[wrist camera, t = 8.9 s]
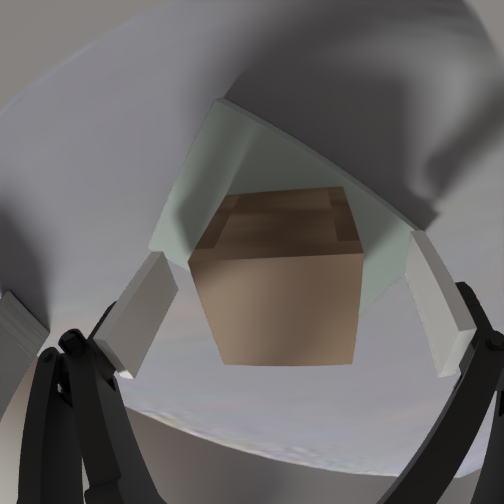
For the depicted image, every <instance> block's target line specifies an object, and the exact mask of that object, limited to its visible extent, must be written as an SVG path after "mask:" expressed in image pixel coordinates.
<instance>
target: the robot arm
mask: <svg viewBox="0 0 504 504" xmlns="http://www.w3.org/2000/svg"><path fill="white" fill-rule="evenodd" d="M405 277H406V280H407V282H408V285H409V288H410V290H411V293H412V296H413V298H414V301H415V304H416V307H417V309H418V312H419V315H420V318H421V321H422V324H423V327H424V330H425V333H426V337H427V340H428V343H429V346H430V350H431V353H432V357H433V360H434V364H435V367H436V371H437V375H438V378H439V377H444V376H449V375H454V374H455V372H456V370H457V368H458V367H460V371H461V375H460V377H459V379H458V381H457V382H456V384H455V386H454V387H453V388H454V389H453V391H452V393H451V395H450V397H449V399H448V401H447V403H446V405H445V406H444V408H443V410H442V412H441V414H440V415H439V417H438V419H437V421H436V422H435V424H434V426H433V427H432V429H431V431H430V432H429V434H428V435H427V437H426V438H425V440H424V442H423V443H422V445H421V446H420V448H419V449H418V451H417V452H416V454H415V455H414V456H413V458H412V459H411V461H410V462H409V463H408V465H407V466H406V468H405V469H404V470H403V472H402V473H401V474H400V475H399V477H398V478H397V479H396V481H395V482H394V483H393V484H392V486H391V487H390V488H389V489H388V491H387V492H386V493H385V494H384V495H383V496H382V498H381V499H380V500H379V501H378V502H377V503H376V504H436V503H437V502H438V500H439V499H440V497H441V496H442V494H443V493H444V491H445V490H446V488H447V487H448V485H449V484H450V482H451V480H452V479H453V477H454V476H455V474H456V472H457V470H458V469H459V467H460V465H461V463H462V462H463V460H464V458H465V456H466V454H467V453H468V451H469V449H470V447H471V445H472V443H473V441H474V439H475V437H476V435H477V433H478V430H479V428H480V426H481V424H482V422H483V419H484V417H485V415H486V412H487V410H488V407H489V405H490V403H491V400H492V397H493V395H494V392H495V391H497V397H496V405H495V411H494V417H493V423H492V428H491V433H490V438H489V443H488V447H487V451H486V455H485V459H484V463H483V466H482V470H481V474H480V477H479V480H478V483H477V486H476V489H475V492H474V495H473V498H472V501H471V503H470V504H504V335H503V334H502V333H500V332H498V331H495V330H493V328H492V326H491V324H490V322H489V320H488V318H487V316H486V314H485V312H484V310H483V308H482V306H480V303H479V301H478V299H477V297H476V295H475V293H474V292H473V290H472V288H471V287H469V286H468V285H467V284H466V283H465V282H457V283H454V281H453V279H452V277H451V275H450V274H449V272H448V270H447V268H446V266H445V265H444V263H443V261H442V260H441V258H440V256H439V254H438V253H437V251H436V249H435V248H434V246H433V245H432V243H431V241H430V240H429V238H428V237H427V235H426V233H425V232H424V230H419V231H410V236H409V246H408V255H407V264H406V271H405ZM177 291H178V287H177V285H176V282H175V280H174V277H173V275H172V272H171V270H170V267H169V265H168V262H167V260H166V257H165V255H164V252H163V251H158V252H151V254H150V255H149V256H148V258H147V259H146V261H145V262H144V263H143V265H142V266H141V267H140V269H139V270H138V272H137V273H136V274H135V276H134V277H133V279H132V280H131V282H130V283H129V284H128V286H127V287H126V289H125V290H124V292H123V293H122V295H121V296H120V297H119V299H118V300H117V301H115V302H114V303H113V304H111V305H110V306H109V307H108V308H107V310H106V311H105V313H104V314H103V316H102V317H101V319H100V320H99V322H98V323H97V325H96V326H95V328H94V329H93V331H92V332H91V334H90V335H89V337H88V339H87V340H86V339H85V337H84V336H83V334H82V333H81V331H80V330H78V329H71V330H68V331H67V332H65V333H64V334H63V335H62V336H61V338H60V339H59V342H58V345H59V346H60V347H61V349H62V350H63V351H64V352H65V353H61V354H60V353H59V351H58V350H57V349H56V348H55V347H49V348H47V349H45V350H44V351H43V352H42V353H41V354H40V356H39V359H38V362H37V366H36V370H35V374H34V378H33V382H32V387H31V392H30V396H29V401H28V406H27V412H26V418H25V424H24V430H23V438H22V445H21V455H20V466H19V484H18V500H17V504H84V500H83V484H82V458H83V462H84V466H85V470H86V474H87V477H88V481H89V485H90V487H89V489H87V490H86V491H85V493H84V497H85V502H86V504H167V503H166V502H165V501H164V500H163V499H162V498H161V497H160V495H159V494H158V492H157V489H156V488H155V485H154V483H153V481H152V479H151V476H150V474H149V472H148V469H147V467H146V465H145V462H144V460H143V457H142V455H141V452H140V450H139V447H138V444H137V442H136V439H135V436H134V434H133V431H132V428H131V425H130V422H129V419H128V416H127V413H126V410H125V407H124V404H123V400H122V397H121V394H120V390H119V387H118V383H117V380H116V378H115V376H114V375H113V374H114V372H115V371H116V370H117V372H118V373H119V374H120V375H121V377H124V378H130V379H135V377H136V375H137V373H138V370H139V368H140V366H141V364H142V362H143V360H144V358H145V356H146V354H147V351H148V349H149V347H150V345H151V343H152V341H153V339H154V337H155V335H156V333H157V331H158V329H159V327H160V325H161V323H162V321H163V319H164V317H165V315H166V313H167V311H168V309H169V307H170V305H171V303H172V301H173V299H174V297H175V295H176V293H177ZM58 386H59V387H60V388H61V392H58Z"/></svg>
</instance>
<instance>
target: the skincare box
mask: <svg viewBox="0 0 504 504" xmlns="http://www.w3.org/2000/svg"><path fill="white" fill-rule="evenodd" d="M49 334H50V332H49V331H48V330H47V329H46V328H45V327H44V326H43V325H42V324H41V323H40V322H39V321H38V320H37V319H36V318H35V317H34V316H33V315H32V314H31V313H30V312H29V311H28V310H27V309H26V308H25V307H24V306H23V305H22V304H21V303H20V302H19V301H18V300H17V298H16V297H15V296H14V295H13V294H12V293H11V292H10V291H9V290H8V291H7V292H6V293H5V294H4V295H3V297H2V298H1V299H0V421H1V419H2V417H3V415H4V412H5V411H6V409H7V406H8V405H9V403H10V401H11V399H12V397H13V395H14V393H15V391H16V389H17V388H18V386H19V384H20V382H21V380H22V378H23V377H24V375H25V373H26V372H27V370H28V368H29V366H30V365H31V363H32V361H33V360H34V358H35V357H36V355H37V353H38V352H39V350H40V348H41V347H42V345H43V344H44V342H45V340H46V339H47V337H48V336H49Z"/></svg>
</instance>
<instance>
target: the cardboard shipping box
mask: <svg viewBox="0 0 504 504" xmlns="http://www.w3.org/2000/svg"><path fill="white" fill-rule="evenodd" d="M363 261H364V252H363V248H362V245H361V241H360V238H359V235H358V231H357V228H356V225H355V222H354V219H353V215H352V212H351V209H350V206H349V203H348V200H347V197H346V194H345V191H344V189H343V187H325V188H308V189H293V190H280V191H267V192H256V193H245V194H234V195H226V196H225V197H224V199H223V201H222V202H221V204H220V206H219V207H218V209H217V211H216V212H215V214H214V216H213V217H212V219H211V221H210V223H209V224H208V226H207V228H206V229H205V231H204V233H203V235H202V236H201V238H200V240H199V242H198V243H197V245H196V247H195V249H194V251H193V252H192V254H191V256H190V258H189V259H188V261H187V262H188V265H189V268H190V271H191V274H192V277H193V280H194V283H195V286H196V289H197V292H198V295H199V298H200V301H201V304H202V307H203V309H204V312H205V315H206V318H207V321H208V323H209V326H210V329H211V332H212V334H213V337H214V340H215V342H216V345H217V348H218V350H219V353H220V355H221V358H222V361H223V363H224V364H229V365H252V366H322V365H344V364H352V361H353V354H354V348H355V341H356V333H357V325H358V317H359V308H360V298H361V287H362V275H363Z"/></svg>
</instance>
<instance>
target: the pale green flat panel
mask: <svg viewBox="0 0 504 504" xmlns="http://www.w3.org/2000/svg"><path fill="white" fill-rule="evenodd" d="M325 187H343V189H344V191H345V194H346V197H347V200H348V203H349V206H350V209H351V212H352V215H353V219H354V222H355V225H356V228H357V231H358V235H359V238H360V241H361V245H362V248H363V252H364V261H363V275H362V287H361V298H360V308H359V316H360V315H361V314H362V313H363V312H364V311H365V310H366V309H368V308H369V307H370V306H371V305H372V304H373V303H374V302H375V301H376V300H377V299H378V298H380V297H381V296H382V295H383V294H384V293H385V292H386V291H387V290H388V289H389V288H390V287H391V286H392V285H393V284H394V283H395V282H396V281H397V280H398V279H399V278H400V277H401V276H402V275H403V274H404V273H405V271H406V264H407V255H408V246H409V236H410V231H419V230H421V229H420V228H419V227H418V226H416V225H415V224H414V223H413V222H412V221H410V220H409V219H408V218H407V217H405V216H404V215H403V214H402V213H401V212H399V211H398V210H397V209H396V208H394V207H393V206H392V205H390V204H389V203H388V202H387V201H385V200H384V199H383V198H381V197H380V196H379V195H377V194H376V193H375V192H373V191H372V190H371V189H369V188H368V187H367V186H365V185H364V184H363V183H361V182H360V181H359V180H357V179H356V178H354V177H353V176H352V175H350V174H349V173H347V172H346V171H344V170H343V169H342V168H340V167H339V166H337V165H336V164H334V163H333V162H331V161H330V160H328V159H327V158H325V157H324V156H322V155H321V154H319V153H318V152H316V151H315V150H313V149H311V148H310V147H308V146H307V145H305V144H304V143H302V142H300V141H299V140H297V139H296V138H294V137H292V136H291V135H289V134H287V133H286V132H284V131H282V130H281V129H279V128H277V127H276V126H274V125H272V124H270V123H269V122H267V121H265V120H263V119H262V118H260V117H258V116H256V115H254V114H253V113H251V112H249V111H247V110H245V109H243V108H242V107H240V106H238V105H236V104H234V103H232V102H230V101H228V100H226V99H224V98H220V99H216V100H215V101H214V103H213V105H212V106H211V108H210V110H209V112H208V114H207V116H206V118H205V120H204V122H203V124H202V126H201V128H200V130H199V132H198V134H197V136H196V138H195V140H194V142H193V144H192V146H191V148H190V150H189V152H188V154H187V156H186V158H185V161H184V163H183V165H182V167H181V169H180V171H179V174H178V176H177V178H176V180H175V183H174V185H173V187H172V189H171V192H170V194H169V196H168V199H167V201H166V203H165V206H164V208H163V211H162V213H161V215H160V218H159V220H158V223H157V225H156V228H155V230H154V233H153V235H152V238H151V241H150V243H149V246H148V248H149V249H151V250H152V251H154V252H158V251H163V252H164V255H165V257H166V258H167V259H168V260H170V261H172V262H174V263H176V264H177V265H179V266H181V267H183V268H185V269H187V270H188V271H190V268H189V265H188V262H187V261H188V259H189V258H190V256H191V254H192V252H193V251H194V249H195V247H196V245H197V243H198V242H199V240H200V238H201V236H202V235H203V233H204V231H205V229H206V228H207V226H208V224H209V223H210V221H211V219H212V217H213V216H214V214H215V212H216V211H217V209H218V207H219V206H220V204H221V202H222V201H223V199H224V197H225V196H226V195H234V194H245V193H256V192H267V191H280V190H293V189H308V188H325ZM190 272H191V271H190Z"/></svg>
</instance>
